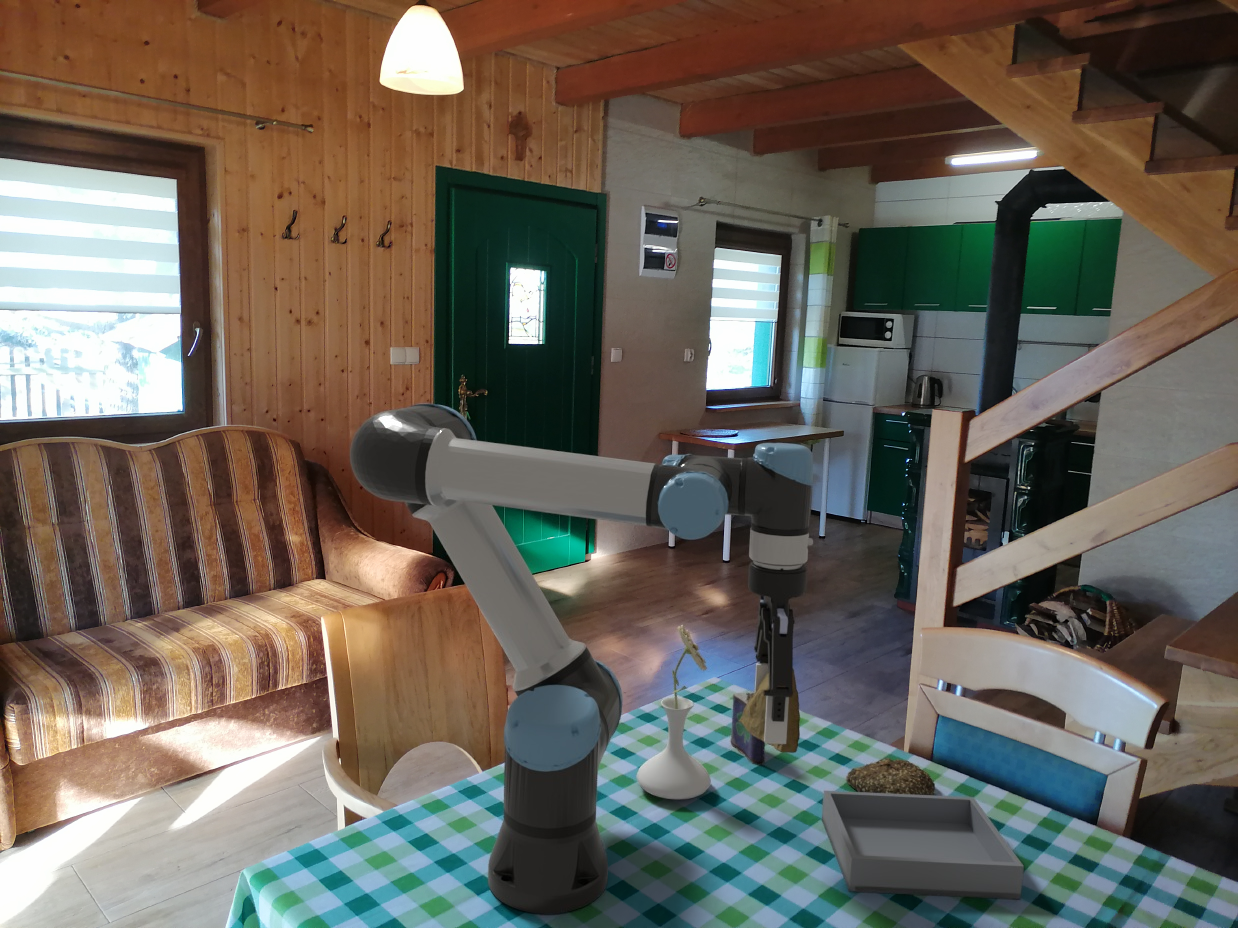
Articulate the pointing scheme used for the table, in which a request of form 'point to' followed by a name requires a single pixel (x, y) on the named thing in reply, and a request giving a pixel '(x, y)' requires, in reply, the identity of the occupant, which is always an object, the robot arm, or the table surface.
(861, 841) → the bin
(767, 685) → the rock
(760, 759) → the flask
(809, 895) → the table surface
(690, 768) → the flower in vase
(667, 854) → the table surface
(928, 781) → the bread roll
